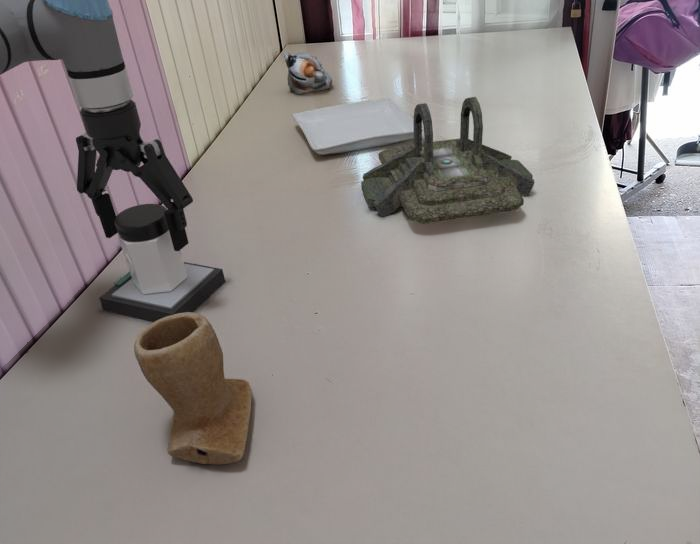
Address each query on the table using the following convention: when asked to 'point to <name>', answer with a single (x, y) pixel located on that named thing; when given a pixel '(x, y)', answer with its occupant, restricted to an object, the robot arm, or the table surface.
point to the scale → (163, 295)
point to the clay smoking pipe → (195, 389)
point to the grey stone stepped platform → (446, 174)
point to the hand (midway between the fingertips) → (146, 240)
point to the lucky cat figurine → (306, 73)
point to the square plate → (355, 126)
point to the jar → (149, 249)
